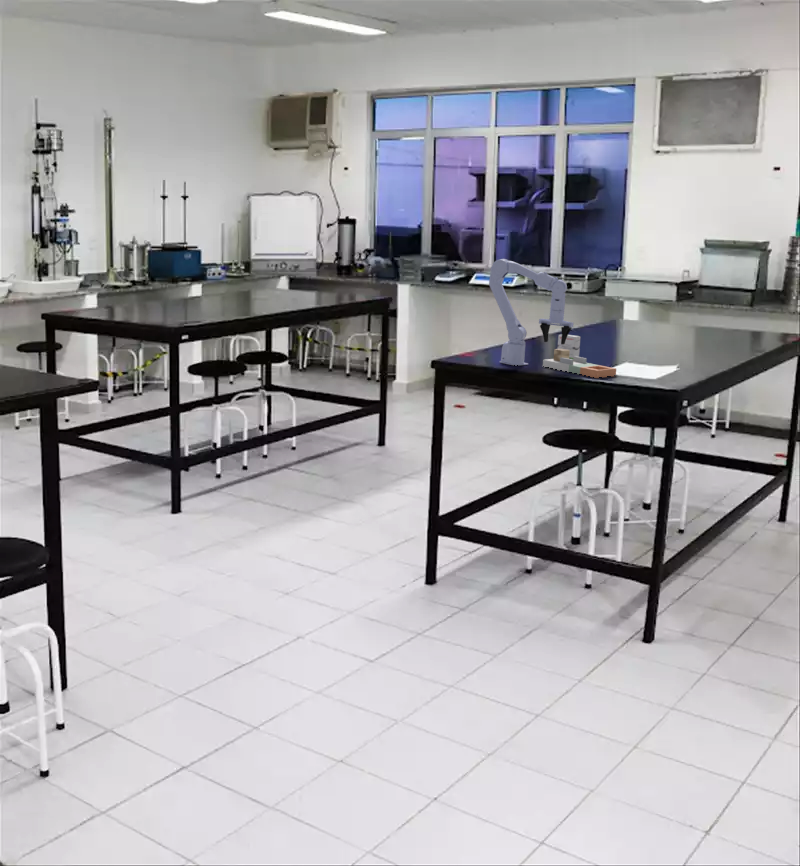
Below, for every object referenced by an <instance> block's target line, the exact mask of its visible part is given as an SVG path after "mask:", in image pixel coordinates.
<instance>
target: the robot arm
mask: <svg viewBox="0 0 800 866" xmlns="http://www.w3.org/2000/svg"><path fill="white" fill-rule="evenodd" d="M515 273H516V274H518V275H521V276H523V277H525V278H527V279H530V280H533V282H534V285H536V286H538V287H540V288H542V289H545V290H547V291H551V298H550V308H549V318H539V319H538V324H540V325H539V328H540V330H541V332H542V336H543V342H544V343H547V342H548V341H549V331H550V328H551V326H558V327H561V328H560V330H561V334H562V338H561V344H565V341H566V338H567V336H568V335H570V332H571V330H572V328H574V324H575V323H574V322H573V321H572V322H571V321H566V320H564V318H565V317H564V316H565V307H566V292H567V290H568V286H567V282H565V281H564V280H563V279H559V278H558V277H557V276H555V277H554V276H552V275H550V274H548V272H547V271H544V272H543V271H540V272H539V271H538V272H536V271H534V270H532V269H530V268H528V267H526V266H524V265H522V264H520V263H518V262H515V261H512V260H508V259H506V258H501V259H497V260H495V261H494V262H493V263H492V265H491V267H490V273H489V281H488V285H489V288H490V290H491V292H492V295H493V297H494V299H495V301H496V303H497V306H498V308H499V311H500V313H501V315H502V317H503V320H504V322H505V324H506V326H505V327H506V330H507V337H508V341H505V342H504V343H503V344H502V347H501V355H500V360H499V363H501V364H504V365H505V364H506V365H511V366H514V365H515V366H516V367H518V366H526V365H528V366H529V363H528V362H525V353H526V341H525V338H526V337H527V335H528V333H527V330H526V328H525V327H524V326H523V325H522V324H521V321H520V320H519V319H518V318H517V315H516V312H515V311H514V308H513V306H512V304H511V302H510V299H509V298H508V295H507V293H506V290H505V288H504V286H503V282H504V279H505V277H506V276H507V275H508V274H515ZM517 365H518V366H517Z"/></svg>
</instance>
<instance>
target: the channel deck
mask: <svg viewBox="0 0 800 866" xmlns="http://www.w3.org/2000/svg"><path fill="white" fill-rule="evenodd" d="M553 359H554V358H550V359H549V358H547V359H546V358H545V359H543V360H542V367H543V366H544V367H543V368H545V367H549V368H548V369H550V368H553V369H552V370H555V369H557V370H556V371H560V370H562V371H561V372H565V371H567V372H566V373H569V372H572V373H571V374H574V373H577V374H576V375H579V374H582V375H581V376H584V375H586V376H585V377H588V376H590V378H593V377H594V379H600V378H599V377H602V378H608V377H607V376H611V377H615V376H614V375H616V376H617V368H615V367H610V366H606V365H600V364H594V363H591V362H587V360H588V359H587V357H583V356H582V357H581V356H579V357H577V356H574V358H573V359H568V358H560V361H556V360H553Z"/></svg>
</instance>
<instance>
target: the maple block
mask: <svg viewBox="0 0 800 866" xmlns="http://www.w3.org/2000/svg"><path fill="white" fill-rule="evenodd" d="M569 354H570V350H566V349H557V348H554V350H553V358H552V359H553V360H556V361H560V358H568V359H569Z"/></svg>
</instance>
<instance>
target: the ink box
mask: <svg viewBox="0 0 800 866" xmlns="http://www.w3.org/2000/svg"><path fill="white" fill-rule="evenodd" d="M561 338H562V333H561V334H558V338H557V348H556V349H566V350H570V354H569V359H573V358H574V356H577V357H580V350H581V349H580V347H581V336H579V335H573V334H568V336H567V338H566V341H565V344H561Z"/></svg>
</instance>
